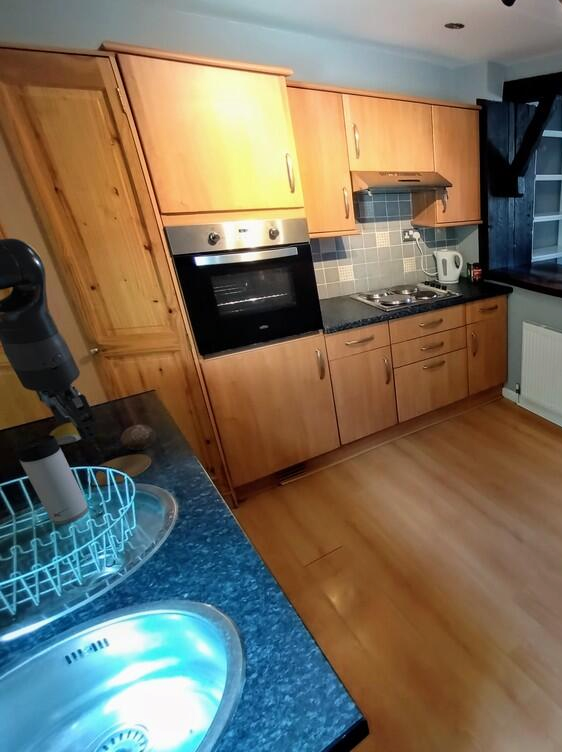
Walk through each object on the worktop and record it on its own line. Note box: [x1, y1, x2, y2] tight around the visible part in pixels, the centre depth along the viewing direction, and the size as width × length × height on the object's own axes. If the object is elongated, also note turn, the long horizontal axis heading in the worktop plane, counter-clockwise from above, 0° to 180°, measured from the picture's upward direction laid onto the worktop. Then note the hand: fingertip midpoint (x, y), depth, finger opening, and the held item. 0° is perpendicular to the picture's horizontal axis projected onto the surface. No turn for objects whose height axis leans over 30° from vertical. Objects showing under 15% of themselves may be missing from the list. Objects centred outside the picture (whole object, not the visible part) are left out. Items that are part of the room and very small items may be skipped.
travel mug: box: [13, 434, 89, 526], centre depth 98 cm, size 6×7×20 cm
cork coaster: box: [86, 453, 152, 487], centre depth 117 cm, size 13×13×1 cm
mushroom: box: [119, 424, 158, 451], centre depth 126 cm, size 8×8×6 cm
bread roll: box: [49, 421, 82, 446], centre depth 130 cm, size 8×9×4 cm
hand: (78, 430), depth 86 cm, fingers open, 8 cm apart
